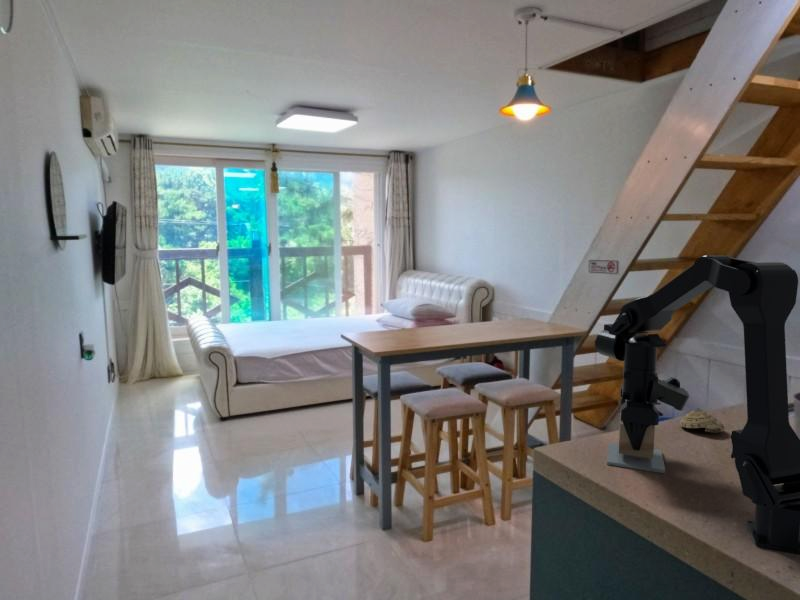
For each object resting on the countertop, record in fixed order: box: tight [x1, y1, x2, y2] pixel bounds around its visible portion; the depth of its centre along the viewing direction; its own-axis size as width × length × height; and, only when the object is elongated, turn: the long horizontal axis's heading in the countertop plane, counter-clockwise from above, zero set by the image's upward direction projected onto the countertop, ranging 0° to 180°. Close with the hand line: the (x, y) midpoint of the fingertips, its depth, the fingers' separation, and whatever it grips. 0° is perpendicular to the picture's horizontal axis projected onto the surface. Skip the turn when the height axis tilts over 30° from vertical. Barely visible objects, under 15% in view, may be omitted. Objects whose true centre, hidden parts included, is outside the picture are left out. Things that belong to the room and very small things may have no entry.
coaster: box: [606, 442, 666, 474], centre depth 103 cm, size 10×10×1 cm
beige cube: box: [618, 413, 656, 458], centre depth 102 cm, size 6×6×6 cm
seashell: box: [679, 408, 726, 434], centre depth 118 cm, size 8×6×8 cm
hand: (635, 444), depth 102 cm, fingers closed on beige cube, 6 cm apart
